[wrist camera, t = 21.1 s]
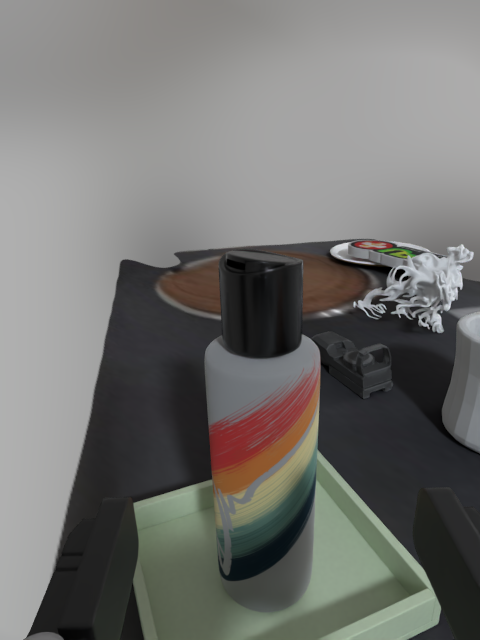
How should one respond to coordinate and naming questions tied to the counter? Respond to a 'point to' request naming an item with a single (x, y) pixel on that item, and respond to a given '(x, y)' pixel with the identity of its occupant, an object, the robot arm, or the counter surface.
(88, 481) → the counter surface
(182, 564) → the green tray
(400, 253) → the sign
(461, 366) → the mug
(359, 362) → the reflex sight
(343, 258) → the plate
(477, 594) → the robot arm
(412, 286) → the figurine
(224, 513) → the lotion bottle
